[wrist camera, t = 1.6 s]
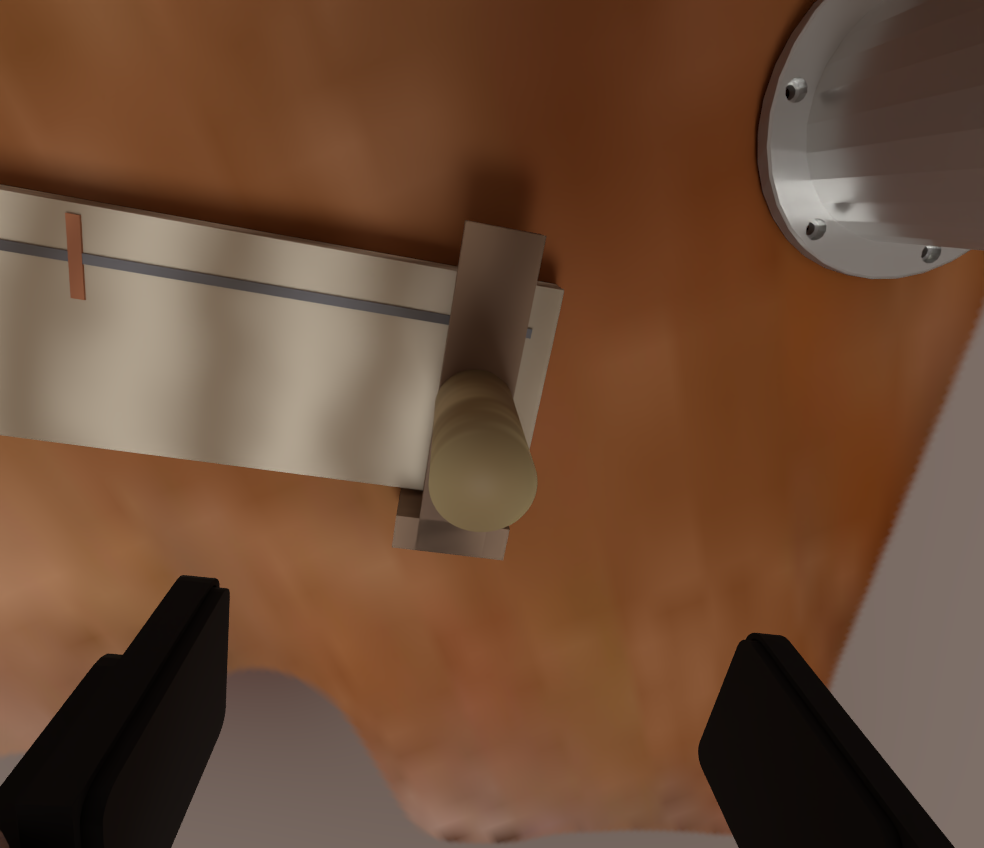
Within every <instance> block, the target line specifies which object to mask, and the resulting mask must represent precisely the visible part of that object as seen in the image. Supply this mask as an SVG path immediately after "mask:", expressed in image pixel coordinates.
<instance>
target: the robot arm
mask: <svg viewBox="0 0 984 848" xmlns="http://www.w3.org/2000/svg"><path fill="white" fill-rule="evenodd" d="M786 88H787V89H788V90H789V97H788V99H787V97H786V95H785V93H786ZM758 168H759V174H760V180H761V186H762V191H763V194H764V197H765V199H766V202H767V205H768V207H769V210H770V212H771V215H772V217H773V219H774V221H775V222H776V224H777V225H778V227H779V228H780V230H781V231H782V233H783V234H784V236H785V237H786V239H787V240H788V241H789V242H790V243H791V244H792V245H793V246H794V247H795V248H796V249H798V250H799V251H800V252H801V253H802V254H803V255H804V256H805V257H807V258H809V259H810V260H812V261H814V262H815V263H817V264H819V265H820V266H822V267H824V268H826V269H830V270H833V271H836V272H839V273H842V274H846V275H850V276H857V277H864V278H869V279H892V278H902V277H906V276H911V275H916V274H920V273H925V272H927V271H930V270H932V269H934V268H937V267H939V266H942V265H944V264H947V263H949V262H951V261H953V260H955V259H956V258H958V257H960V256H961V255H963V254H965V253H966V252H968V251H970V250H971V249H973V250H984V0H817V1H816V2H815V3H814V4H813V5H812V7H811V8H810V9H809V11H808V12H807V13H806V15H805V16H804V17H803V19H802V20H801V21H800V23H799V24H798V26H797V27H796V28H795V30H794V31H793V32H792V34H791V36H790V38H789V40H788V41H787V43H786V45H785V47H784V49H783V51H782V53H781V55H780V57H779V59H778V61H777V62H776V64H775V67H774V70H773V73H772V76H771V78H770V81H769V84H768V87H767V90H766V93H765V96H764V99H763V105H762V111H761V116H760V122H759V128H758ZM808 225H809V230H808V232H807V233H806V228H807V226H808ZM229 601H230V592H229V589H227V588H220V587H219V581H218V579H216V578H207V577H197V576H187V575H182V576H180V577H179V578H178V579H177V580H176V582H175V583H174V585H173V586H172V587H171V589H170V590H169V592H168V593H167V594H166V596H165V597H164V598H163V600H162V601H161V603H160V604H159V605H158V607H157V608H156V610H155V611H154V612H153V614H152V615H151V616H150V618H149V619H148V621H147V622H146V623H145V625H144V626H143V628H142V629H141V630H140V632H139V633H138V635H137V636H136V637H135V639H134V640H133V641H132V643H131V644H130V646H129V647H128V648H127V650H126V651H125V653H124V654H123V655H118V654H106V655H104V656H102V657H101V658H100V659H99V660H98V661H97V662H96V663H95V664H94V665H93V667H92V668H91V669H90V670H89V672H88V673H87V674H86V676H85V677H84V678H83V680H82V681H81V682H80V683H79V685H78V686H77V687H76V689H75V690H74V691H73V693H72V694H71V695H70V696H69V698H68V699H67V700H66V702H65V703H64V704H63V706H62V707H61V708H60V710H59V711H58V712H57V713H56V715H55V716H54V717H53V719H52V720H51V721H50V723H49V724H48V725H47V726H46V728H45V729H44V730H43V732H42V733H41V734H40V736H39V737H38V738H37V739H36V741H35V742H34V743H33V745H32V746H31V747H30V749H29V750H28V751H27V752H26V754H25V755H24V756H23V758H22V759H21V760H20V762H19V763H18V764H17V766H16V767H15V768H14V769H13V771H12V772H11V773H10V775H9V776H8V777H7V778H6V780H5V781H4V783H3V784H2V785H1V786H0V848H171V847H172V844H173V842H174V839H175V837H176V835H177V833H178V830H179V828H180V825H181V823H182V821H183V818H184V816H185V814H186V811H187V809H188V807H189V804H190V802H191V800H192V797H193V795H194V793H195V790H196V788H197V786H198V783H199V781H200V779H201V776H202V774H203V772H204V769H205V767H206V765H207V762H208V760H209V758H210V755H211V753H212V751H213V748H214V746H215V743H216V741H217V739H218V737H219V734H220V731H221V728H222V725H223V721H224V717H225V708H226V683H227V656H228V629H229ZM698 755H699V761H700V765H701V767H702V770H703V772H704V774H705V776H706V778H707V780H708V783H709V785H710V787H711V789H712V791H713V793H714V796H715V798H716V800H717V802H718V804H719V806H720V809H721V811H722V813H723V815H724V817H725V819H726V822H727V824H728V826H729V828H730V830H731V832H732V835H733V837H734V839H735V841H736V843H737V845H738V847H739V848H954V846H953V845H952V844H951V842H950V841H949V840H948V839H947V837H946V836H945V835H944V834H943V832H942V831H941V830H940V829H939V828H938V826H937V825H936V824H935V822H934V821H933V820H932V819H931V818H930V816H929V815H928V814H927V812H926V811H925V810H924V809H923V808H922V806H921V805H920V804H919V802H918V801H917V800H916V799H915V798H914V796H913V795H912V794H911V793H910V791H909V790H908V789H907V788H906V786H905V785H904V784H903V783H902V781H901V780H900V779H899V778H898V776H897V775H896V774H895V773H894V771H893V770H892V769H891V768H890V766H889V765H888V764H887V763H886V761H885V760H884V759H883V758H882V756H881V755H880V754H879V753H878V751H877V750H876V749H875V748H874V746H873V745H872V744H871V743H870V741H869V740H868V739H867V738H866V737H865V735H864V734H863V733H862V731H861V730H860V729H859V728H858V726H857V725H856V724H855V723H854V722H853V720H852V719H851V718H850V716H849V715H848V714H847V713H846V712H845V710H844V709H843V708H842V706H841V705H840V704H839V703H838V701H837V700H836V699H835V698H834V696H833V695H832V694H831V693H830V691H829V690H828V689H827V688H826V686H825V685H824V684H823V683H822V681H821V680H820V679H819V678H818V676H817V675H816V674H815V673H814V671H813V670H812V669H811V668H810V666H809V665H808V664H807V663H806V661H805V660H804V659H803V658H802V656H801V655H800V654H799V653H798V651H797V650H796V649H795V648H794V646H793V645H792V644H791V643H790V641H789V640H788V639H786V638H785V637H783V636H781V635H771V634H762V633H751V634H750V635H749V636H747V638H746V640H742V641H741V642H740V643H739V644H738V646H737V649H736V651H735V654H734V656H733V659H732V661H731V664H730V667H729V669H728V672H727V674H726V677H725V679H724V682H723V684H722V687H721V689H720V692H719V695H718V697H717V700H716V702H715V705H714V707H713V710H712V712H711V715H710V717H709V720H708V723H707V725H706V728H705V730H704V733H703V735H702V738H701V740H700V743H699V748H698Z"/></svg>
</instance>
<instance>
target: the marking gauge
mask: <svg viewBox="0 0 984 848" xmlns="http://www.w3.org/2000/svg"><path fill="white" fill-rule="evenodd" d="M545 240H546V236H544V235H541V234H537V233H531V232H526V231H521V230H516V229H510V228H505V227H500V226H495V225H489V224H484V223H479V222H474V221H468V220H465V224H464V230H463V236H462V243H461V249H460V256H459V262H458V268H457V275H456V281H455V288H454V294H453V301H452V307H451V313H450V320H449V326H448V333H447V339H446V345H445V352H444V358H443V365H442V371H441V377H440V384H439V390H438V394H437V396H436V400H435V411H434V422H433V429H432V435H431V442H430V448H429V454H428V461H427V467H426V474H425V480H424V486H423V490H417V489H409V488H402V487H401V492H400V498H399V504H398V509H397V515H396V522H395V529H394V536H393V543H392V547H394V548H403V549H411V550H420V551H428V552H437V553H445V554H454V555H462V556H471V557H479V558H488V559H496V560H503V557H504V553H505V548H506V544H507V539H508V534H509V530H510V529H509V525H511V524H513V523H514V522H516V521H517V520H518V519H520V518H521V517H522V516H523V515H524V514H525V512H526V511H527V510H528V509H529V507H530V506H531V504H532V502H533V500H534V497H535V494H536V490H537V473H536V470H535V466H534V463H533V460H532V457H531V454H530V451H529V447H528V444H527V441H526V438H525V435H524V432H523V429H522V425H521V422H520V419H519V416H518V413H517V410H516V407H515V404H514V400H513V398H514V393H515V388H516V383H517V378H518V373H519V368H520V363H521V359H522V354H523V349H524V344H525V339H526V334H527V329H528V324H529V319H530V314H531V309H532V304H533V299H534V294H535V289H536V285H537V280H538V275H539V270H540V265H541V260H542V255H543V250H544V245H545Z"/></svg>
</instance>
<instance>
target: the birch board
mask: <svg viewBox="0 0 984 848" xmlns="http://www.w3.org/2000/svg"><path fill="white" fill-rule="evenodd" d="M457 268H458V267H457V266H452V265H446V264H441V263H435V262H429V261H424V260H418V259H413V258H407V257H402V256H396V255H391V254H385V253H379V252H374V251H368V250H363V249H357V248H352V247H346V246H340V245H335V244H329V243H324V242H318V241H313V240H307V239H301V238H296V237H290V236H285V235H279V234H274V233H268V232H263V231H257V230H251V229H246V228H240V227H235V226H229V225H224V224H218V223H212V222H207V221H201V220H196V219H190V218H185V217H179V216H173V215H168V214H162V213H157V212H151V211H146V210H140V209H135V208H129V207H123V206H118V205H112V204H107V203H101V202H96V201H90V200H84V199H79V198H73V197H68V196H62V195H57V194H51V193H46V192H40V191H34V190H29V189H23V188H18V187H12V186H7V185H1V184H0V435H4V436H12V437H19V438H27V439H35V440H42V441H50V442H58V443H65V444H73V445H80V446H88V447H96V448H103V449H111V450H119V451H126V452H134V453H142V454H149V455H157V456H165V457H172V458H180V459H188V460H195V461H203V462H210V463H218V464H226V465H233V466H241V467H249V468H256V469H264V470H272V471H279V472H287V473H295V474H302V475H310V476H317V477H325V478H333V479H340V480H348V481H356V482H363V483H371V484H379V485H386V486H394V487H402V488H409V489H417V490H423V486H424V480H425V474H426V467H427V461H428V454H429V448H430V442H431V435H432V429H433V422H434V411H435V400H436V396H437V394H438V390H439V384H440V377H441V371H442V365H443V358H444V352H445V345H446V339H447V333H448V326H449V320H450V313H451V307H452V301H453V294H454V288H455V281H456V275H457ZM563 294H564V290H563V289H562V288H560V287H559V286H558V285H556V284H552V283H546V282H541V281H537V285H536V289H535V294H534V299H533V304H532V309H531V314H530V319H529V324H528V329H527V334H526V339H525V344H524V349H523V354H522V359H521V363H520V368H519V373H518V378H517V383H516V388H515V393H514V398H513V400H514V404H515V407H516V410H517V413H518V416H519V419H520V422H521V425H522V429H523V432H524V435H525V438H526V441H527V444H528V447H529V449H530V444H531V440H532V435H533V431H534V426H535V422H536V417H537V413H538V408H539V403H540V399H541V394H542V390H543V385H544V381H545V376H546V372H547V367H548V362H549V358H550V353H551V349H552V344H553V340H554V335H555V331H556V326H557V321H558V317H559V312H560V308H561V303H562V299H563Z"/></svg>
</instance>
